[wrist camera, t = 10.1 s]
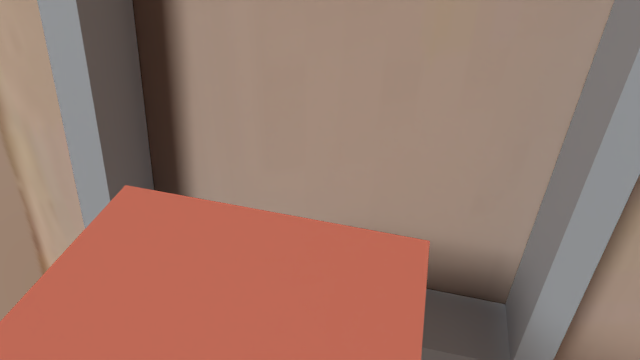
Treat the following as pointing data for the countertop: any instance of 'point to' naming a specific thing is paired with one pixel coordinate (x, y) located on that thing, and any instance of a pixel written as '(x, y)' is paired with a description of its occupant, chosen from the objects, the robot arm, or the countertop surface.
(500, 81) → the countertop surface
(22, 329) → the cube
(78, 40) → the pocket
